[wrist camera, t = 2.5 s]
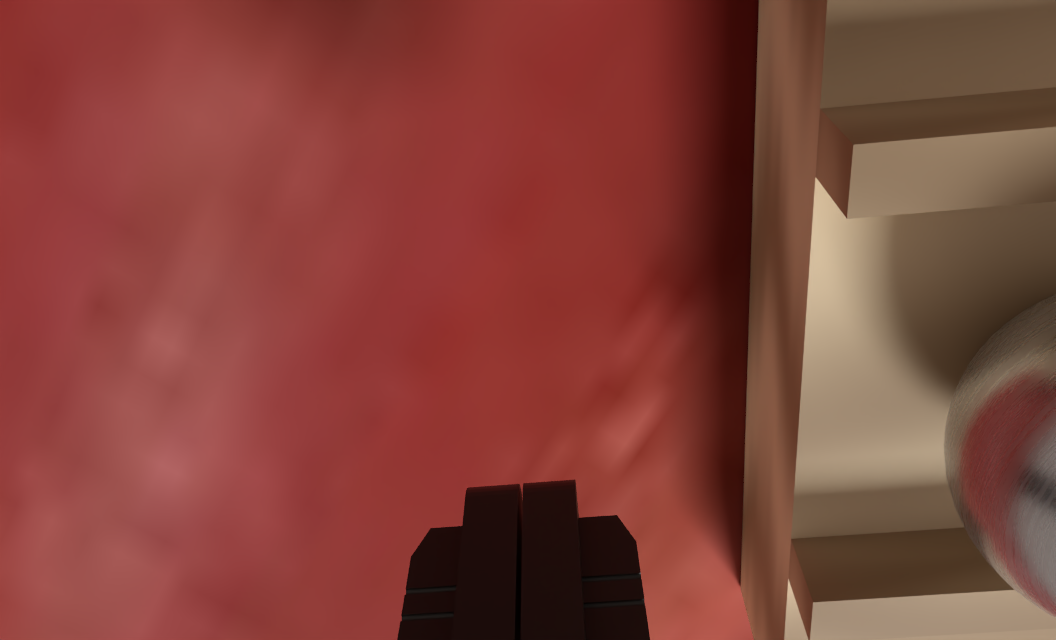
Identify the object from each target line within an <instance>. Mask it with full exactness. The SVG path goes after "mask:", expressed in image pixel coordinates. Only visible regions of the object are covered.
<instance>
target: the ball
mask: <svg viewBox="0 0 1056 640" xmlns="http://www.w3.org/2000/svg"><path fill="white" fill-rule="evenodd" d="M944 456H945V468H946V477H947V481H948V484H949V488H950V492H951V495H952V499H953V502H954V506H955V508H956V511H957V513H958V515H959V517H960V519H961V521H962V523H963V525H964V527H965V529H966V531H967V533H968V535H969V537H970V539H971V540H972V541H973V543H974V544H975V546H976V547H977V548H978V550H979V551H980V553H981V554H982V555H983V557H984V558H985V559H986V561H987V562H988V563H989V565H990V566H991V567H992V568H993V569H994V570H995V571H996V572H997V573H998V574H999V575H1000V576H1001V577H1002V578H1003V579H1004V580H1005V581H1006V582H1007V583H1008V584H1009V585H1010V586H1011V587H1012V588H1013V589H1014V590H1016V591H1017V592H1018V593H1019V594H1020V595H1022V596H1023V597H1024V598H1026V599H1027V600H1028V601H1030V602H1031V603H1032V604H1034V605H1035V606H1036V607H1038V608H1040V609H1041V610H1043V611H1044V612H1046V613H1047V614H1049V615H1051V616H1053V617H1054V618H1056V294H1055V295H1053V296H1051V297H1048V298H1046V299H1044V300H1042V301H1040V302H1038V303H1036V304H1035V305H1033V306H1031V307H1029V308H1028V309H1026V310H1024V311H1023V312H1021V313H1020V314H1018V315H1017V316H1016V317H1014V318H1013V319H1011V320H1010V321H1009V322H1007V323H1006V324H1005V325H1004V326H1002V327H1001V328H1000V329H999V330H998V331H997V332H996V333H994V334H993V335H992V336H991V337H990V338H989V340H988V341H987V342H986V343H985V344H984V345H983V346H982V347H981V348H980V349H979V351H978V352H977V353H976V355H975V356H974V357H973V359H972V360H971V362H970V363H969V365H968V367H967V368H966V370H965V372H964V374H963V375H962V377H961V379H960V381H959V383H958V385H957V388H956V390H955V393H954V395H953V398H952V400H951V403H950V407H949V411H948V416H947V421H946V427H945V437H944Z"/></svg>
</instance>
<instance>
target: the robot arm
mask: <svg viewBox="0 0 1056 640" xmlns="http://www.w3.org/2000/svg"><path fill="white" fill-rule="evenodd" d="M398 640H650V637H649V630H648V622H647V615H646V608H645V603H644V594H643V587H642V580H641V573H640V566H639V559H638V551H637V544H636V541H635V539H634V538H633V537H632V535H631V534H630V533H629V531H628V530H627V528H626V527H625V526H624V524H623V523H622V522H621V520H620V519H619V518H618V516H617V515H612V516H598V517H584V518H579V514H578V503H577V492H576V482H575V480H565V481H551V482H537V483H524V484H523V500H522V493H521V488H520V484H512V485H498V486H484V487H470V488H467V490H466V496H465V506H464V516H463V526H457V527H443V528H431V529H430V530H429V532H428V533H427V535H426V536H425V537H424V539H423V540H422V542H421V543H420V545H419V546H418V548H417V549H416V551H415V552H414V553H413V555H412V556H411V561H410V567H409V573H408V579H407V585H406V595H405V597H404V603H403V609H402V621H401V622H400V628H399V634H398Z"/></svg>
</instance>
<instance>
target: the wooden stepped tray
mask: <svg viewBox="0 0 1056 640" xmlns="http://www.w3.org/2000/svg"><path fill="white" fill-rule="evenodd" d="M1055 294H1056V0H759V15H758V47H757V79H756V111H755V143H754V175H753V207H752V239H751V271H750V303H749V335H748V367H747V399H746V431H745V463H744V495H743V527H742V559H741V592H742V596H743V600H744V603H745V607H746V611H747V615H748V619H749V622H750V626H751V630H752V634H753V638H754V640H1056V618H1054V617H1053V616H1051V615H1049V614H1047V613H1046V612H1044V611H1043V610H1041V609H1040V608H1038V607H1036V606H1035V605H1034V604H1032V603H1031V602H1030V601H1028V600H1027V599H1026V598H1024V597H1023V596H1022V595H1020V594H1019V593H1018V592H1017V591H1016V590H1014V589H1013V588H1012V587H1011V586H1010V585H1009V584H1008V583H1007V582H1006V581H1005V580H1004V579H1003V578H1002V577H1001V576H1000V575H999V574H998V573H997V572H996V571H995V570H994V569H993V568H992V567H991V566H990V565H989V563H988V562H987V561H986V559H985V558H984V557H983V555H982V554H981V553H980V551H979V550H978V548H977V547H976V546H975V544H974V543H973V541H972V540H971V539H970V537H969V535H968V533H967V531H966V529H965V527H964V525H963V523H962V521H961V519H960V517H959V515H958V513H957V511H956V508H955V506H954V502H953V499H952V495H951V492H950V488H949V484H948V481H947V477H946V468H945V456H944V437H945V427H946V421H947V416H948V411H949V407H950V403H951V400H952V398H953V395H954V393H955V390H956V388H957V385H958V383H959V381H960V379H961V377H962V375H963V374H964V372H965V370H966V368H967V367H968V365H969V363H970V362H971V360H972V359H973V357H974V356H975V355H976V353H977V352H978V351H979V349H980V348H981V347H982V346H983V345H984V344H985V343H986V342H987V341H988V340H989V338H990V337H991V336H992V335H993V334H994V333H996V332H997V331H998V330H999V329H1000V328H1001V327H1002V326H1004V325H1005V324H1006V323H1007V322H1009V321H1010V320H1011V319H1013V318H1014V317H1016V316H1017V315H1018V314H1020V313H1021V312H1023V311H1024V310H1026V309H1028V308H1029V307H1031V306H1033V305H1035V304H1036V303H1038V302H1040V301H1042V300H1044V299H1046V298H1048V297H1051V296H1053V295H1055Z"/></svg>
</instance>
